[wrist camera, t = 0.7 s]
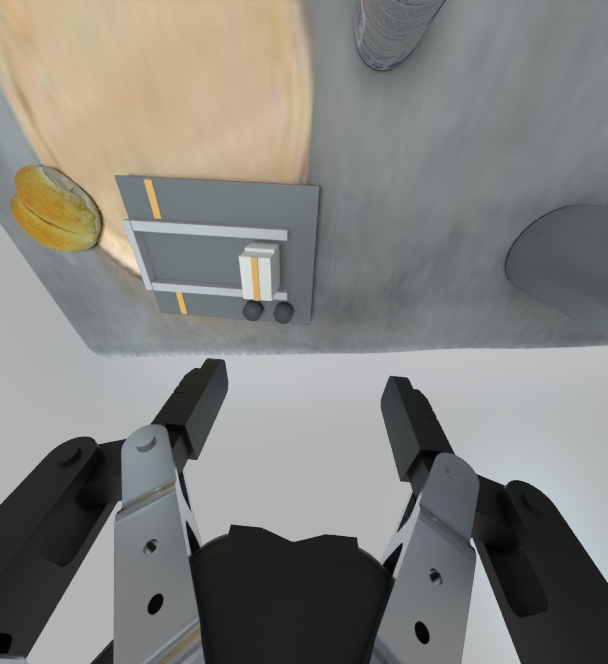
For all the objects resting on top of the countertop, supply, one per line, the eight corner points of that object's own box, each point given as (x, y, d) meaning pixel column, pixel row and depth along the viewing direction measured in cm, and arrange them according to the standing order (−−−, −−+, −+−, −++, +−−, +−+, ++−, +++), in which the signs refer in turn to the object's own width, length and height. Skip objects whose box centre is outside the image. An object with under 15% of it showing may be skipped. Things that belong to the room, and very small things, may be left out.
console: (319, 185, 24) (318, 186, 21) (310, 317, 33) (309, 330, 30) (128, 175, 25) (102, 175, 22) (169, 306, 34) (154, 318, 31)
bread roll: (24, 215, 29) (-15, 219, 25) (40, 151, 25) (-5, 146, 21) (91, 263, 32) (63, 273, 28) (114, 213, 28) (85, 217, 24)
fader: (279, 243, 26) (269, 255, 21) (280, 285, 28) (271, 304, 24) (252, 241, 26) (237, 253, 21) (255, 283, 28) (243, 302, 24)
